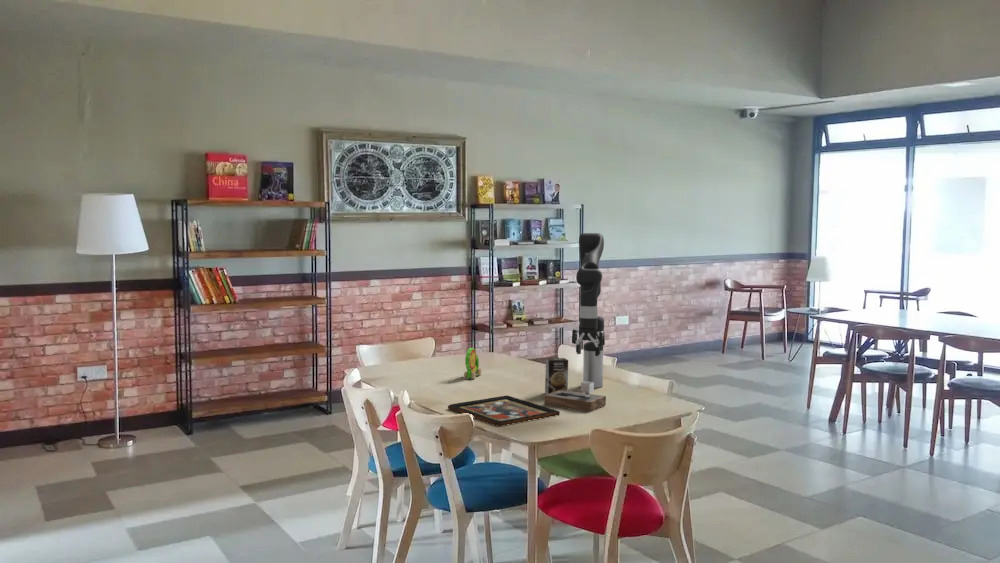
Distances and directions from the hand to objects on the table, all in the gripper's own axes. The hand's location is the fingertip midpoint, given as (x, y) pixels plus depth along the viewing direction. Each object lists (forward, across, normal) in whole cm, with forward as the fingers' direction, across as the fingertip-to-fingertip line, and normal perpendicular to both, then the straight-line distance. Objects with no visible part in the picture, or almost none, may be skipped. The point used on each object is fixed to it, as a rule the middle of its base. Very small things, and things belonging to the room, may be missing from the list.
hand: (587, 354), depth 340 cm
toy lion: (+22, +76, -23) cm, 82 cm away
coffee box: (+22, +23, -14) cm, 35 cm away
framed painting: (+23, +24, +28) cm, 43 cm away
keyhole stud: (+21, 0, 0) cm, 21 cm away
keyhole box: (+22, +6, 0) cm, 23 cm away
